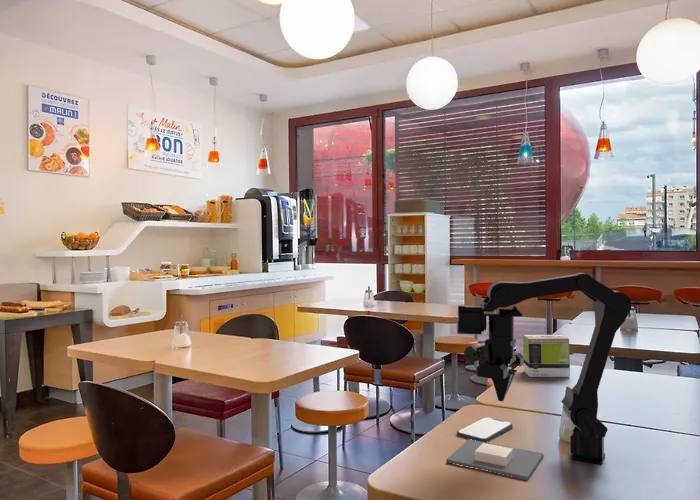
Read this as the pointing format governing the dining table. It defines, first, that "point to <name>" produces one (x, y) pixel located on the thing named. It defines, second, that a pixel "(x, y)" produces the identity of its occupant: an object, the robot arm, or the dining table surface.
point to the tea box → (546, 356)
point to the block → (494, 454)
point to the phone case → (485, 429)
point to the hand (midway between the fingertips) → (501, 400)
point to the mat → (517, 467)
